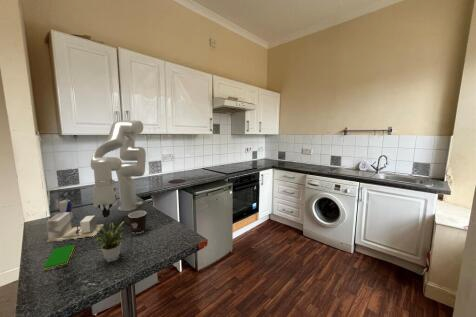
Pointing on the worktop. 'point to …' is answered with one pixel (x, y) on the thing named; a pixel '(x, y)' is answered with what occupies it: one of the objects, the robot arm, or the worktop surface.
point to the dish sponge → (59, 256)
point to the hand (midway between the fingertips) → (106, 216)
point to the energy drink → (66, 207)
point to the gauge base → (73, 232)
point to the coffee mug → (137, 221)
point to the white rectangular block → (88, 224)
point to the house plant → (110, 241)
